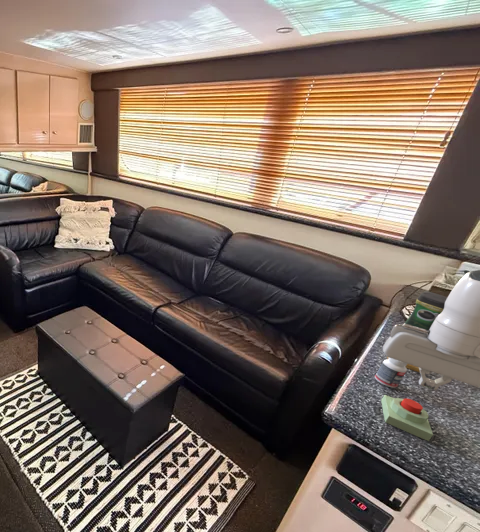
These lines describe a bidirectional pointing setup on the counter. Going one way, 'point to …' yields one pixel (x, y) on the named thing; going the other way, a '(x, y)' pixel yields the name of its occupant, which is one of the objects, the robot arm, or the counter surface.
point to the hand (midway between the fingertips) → (427, 386)
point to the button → (411, 406)
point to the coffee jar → (426, 310)
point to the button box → (406, 418)
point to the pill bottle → (391, 372)
